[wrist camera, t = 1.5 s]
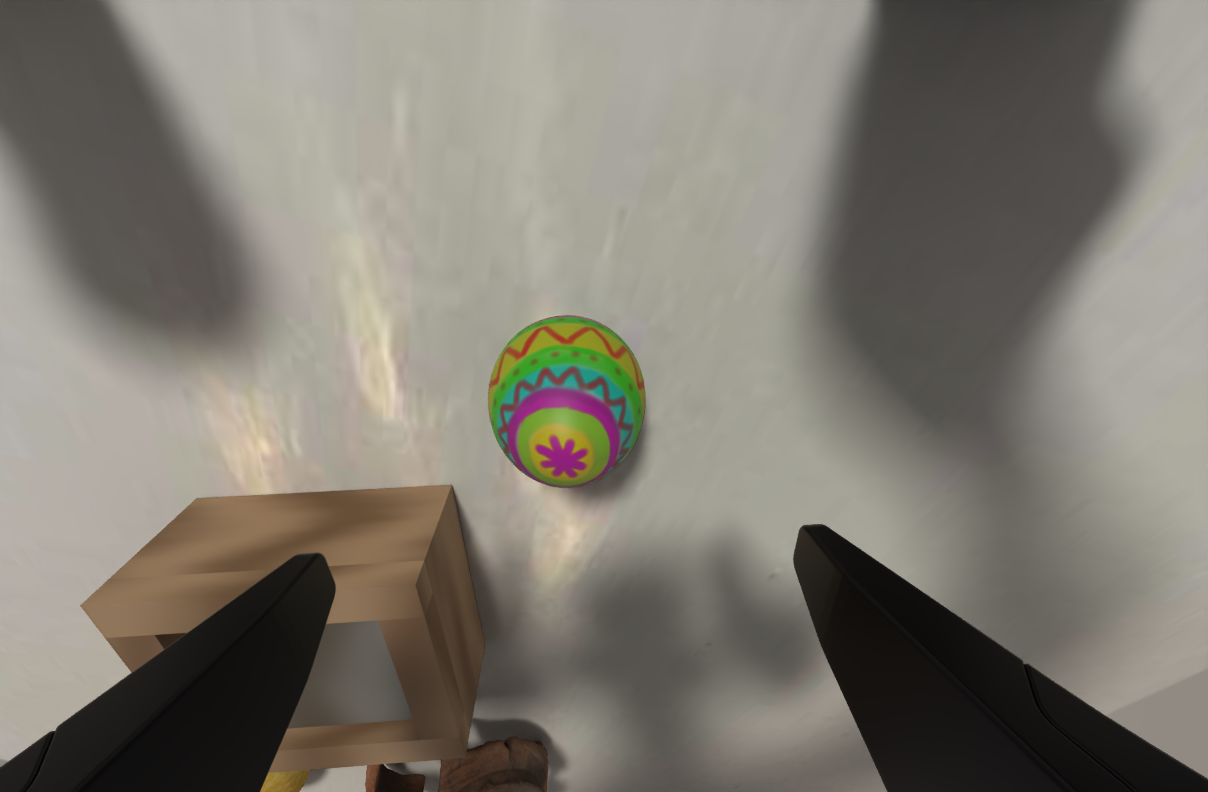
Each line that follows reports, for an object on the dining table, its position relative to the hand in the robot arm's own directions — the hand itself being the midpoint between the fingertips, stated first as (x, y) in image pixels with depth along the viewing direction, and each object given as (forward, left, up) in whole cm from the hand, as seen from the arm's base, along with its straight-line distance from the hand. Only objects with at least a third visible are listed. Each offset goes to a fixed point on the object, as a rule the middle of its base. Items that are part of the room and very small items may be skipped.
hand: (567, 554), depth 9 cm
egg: (0, 0, -9) cm, 9 cm away
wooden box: (+10, +10, -9) cm, 17 cm away
